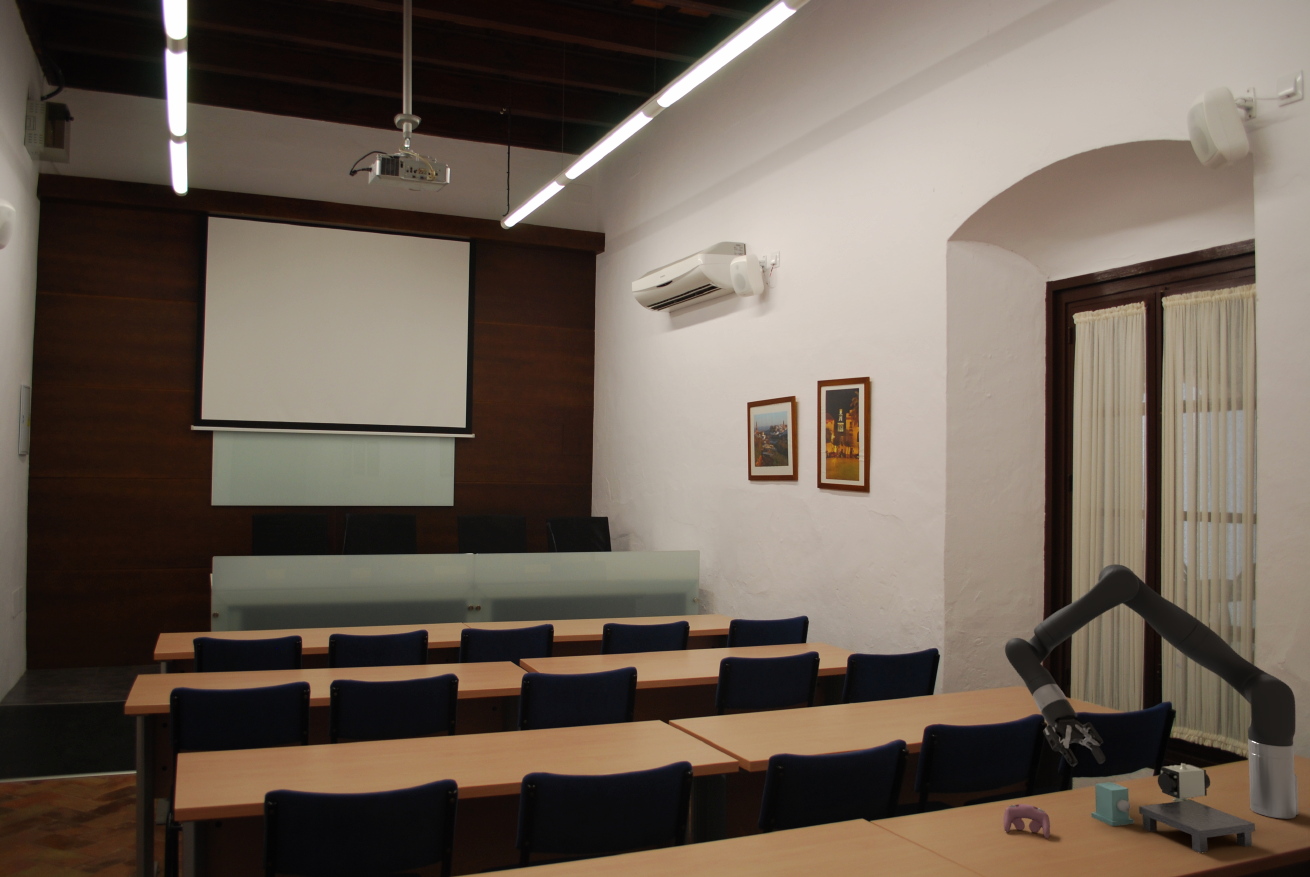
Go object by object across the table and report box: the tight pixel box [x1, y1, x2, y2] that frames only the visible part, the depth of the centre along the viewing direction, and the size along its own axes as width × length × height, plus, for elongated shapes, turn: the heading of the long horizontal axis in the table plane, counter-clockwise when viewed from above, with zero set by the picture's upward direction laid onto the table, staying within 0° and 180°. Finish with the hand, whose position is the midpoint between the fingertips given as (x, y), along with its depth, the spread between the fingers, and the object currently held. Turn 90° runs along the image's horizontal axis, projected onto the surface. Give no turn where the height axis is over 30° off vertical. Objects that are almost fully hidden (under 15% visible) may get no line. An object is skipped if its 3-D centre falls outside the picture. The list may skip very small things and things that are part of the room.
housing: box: [1090, 781, 1135, 827], centre depth 211 cm, size 6×7×8 cm
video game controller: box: [1003, 803, 1051, 839], centre depth 203 cm, size 10×5×7 cm, turn 65°
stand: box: [1138, 799, 1256, 854], centre depth 201 cm, size 16×16×5 cm
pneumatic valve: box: [1157, 762, 1211, 802], centre depth 217 cm, size 6×12×12 cm, turn 106°
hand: (1088, 763), depth 219 cm, fingers open, 8 cm apart
